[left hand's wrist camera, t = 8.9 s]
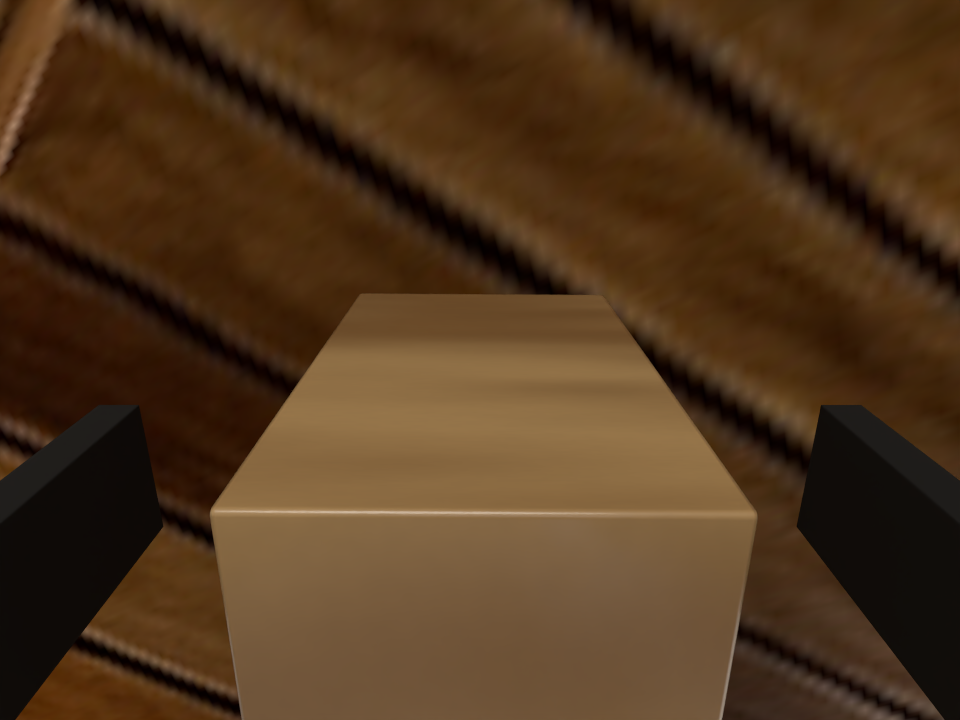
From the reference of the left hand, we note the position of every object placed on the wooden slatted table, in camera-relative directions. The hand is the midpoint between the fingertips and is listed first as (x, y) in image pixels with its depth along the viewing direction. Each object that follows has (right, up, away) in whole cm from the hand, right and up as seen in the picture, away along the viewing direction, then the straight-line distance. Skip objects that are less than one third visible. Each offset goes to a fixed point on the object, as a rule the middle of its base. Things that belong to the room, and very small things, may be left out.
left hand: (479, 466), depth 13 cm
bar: (0, -8, +6) cm, 9 cm away
